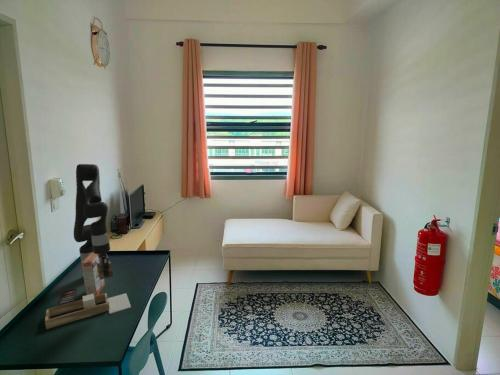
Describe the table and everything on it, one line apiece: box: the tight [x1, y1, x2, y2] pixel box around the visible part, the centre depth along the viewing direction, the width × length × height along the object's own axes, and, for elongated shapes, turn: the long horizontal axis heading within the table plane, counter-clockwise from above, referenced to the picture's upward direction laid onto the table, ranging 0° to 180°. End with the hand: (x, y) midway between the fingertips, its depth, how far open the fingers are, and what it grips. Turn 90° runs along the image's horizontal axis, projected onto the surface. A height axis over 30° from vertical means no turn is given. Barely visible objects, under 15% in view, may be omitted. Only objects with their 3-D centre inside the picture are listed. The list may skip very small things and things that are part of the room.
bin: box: [44, 292, 110, 330], centre depth 153 cm, size 12×27×4 cm, turn 120°
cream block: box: [82, 293, 97, 309], centre depth 155 cm, size 6×5×7 cm
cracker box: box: [81, 253, 106, 296], centre depth 172 cm, size 14×6×21 cm, turn 8°
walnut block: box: [97, 259, 114, 280], centre depth 155 cm, size 6×5×7 cm
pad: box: [108, 292, 132, 315], centre depth 160 cm, size 16×10×1 cm, turn 30°
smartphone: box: [58, 288, 78, 306], centre depth 170 cm, size 7×1×15 cm
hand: (105, 274), depth 155 cm, fingers closed on walnut block, 5 cm apart
